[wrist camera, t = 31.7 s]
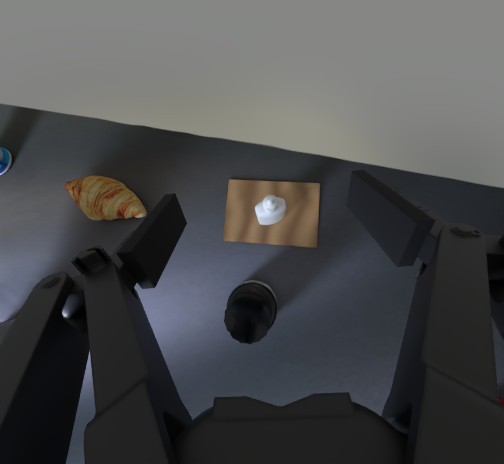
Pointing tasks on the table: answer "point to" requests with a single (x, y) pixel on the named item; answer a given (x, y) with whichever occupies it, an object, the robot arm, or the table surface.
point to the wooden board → (283, 232)
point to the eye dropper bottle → (270, 210)
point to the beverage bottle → (4, 160)
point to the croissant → (105, 198)
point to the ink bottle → (250, 311)
